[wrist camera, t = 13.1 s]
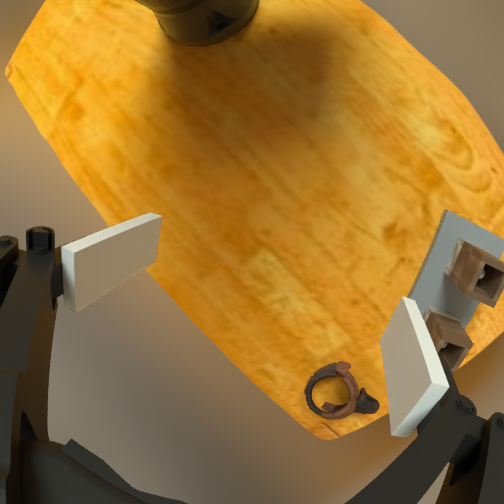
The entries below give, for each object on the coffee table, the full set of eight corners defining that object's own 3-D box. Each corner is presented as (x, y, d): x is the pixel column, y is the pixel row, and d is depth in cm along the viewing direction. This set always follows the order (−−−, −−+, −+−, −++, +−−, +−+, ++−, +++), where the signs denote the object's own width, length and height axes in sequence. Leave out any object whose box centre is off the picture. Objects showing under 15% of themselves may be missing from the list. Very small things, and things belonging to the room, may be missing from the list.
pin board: (444, 209, 34) (464, 218, 28) (503, 239, 32) (526, 252, 26) (385, 337, 41) (391, 364, 35) (443, 356, 39) (453, 383, 33)
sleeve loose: (428, 304, 37) (443, 333, 30) (455, 315, 36) (473, 344, 29) (411, 334, 39) (422, 367, 31) (438, 343, 38) (452, 376, 30)
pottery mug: (308, 403, 48) (292, 415, 41) (322, 352, 50) (309, 357, 42) (373, 421, 43) (369, 437, 36) (390, 368, 44) (389, 376, 37)
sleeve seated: (458, 236, 34) (483, 253, 26) (485, 250, 33) (512, 269, 25) (444, 271, 35) (464, 294, 28) (471, 283, 34) (493, 307, 27)
